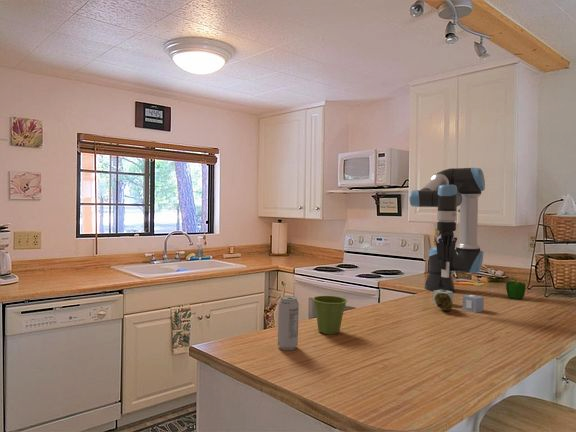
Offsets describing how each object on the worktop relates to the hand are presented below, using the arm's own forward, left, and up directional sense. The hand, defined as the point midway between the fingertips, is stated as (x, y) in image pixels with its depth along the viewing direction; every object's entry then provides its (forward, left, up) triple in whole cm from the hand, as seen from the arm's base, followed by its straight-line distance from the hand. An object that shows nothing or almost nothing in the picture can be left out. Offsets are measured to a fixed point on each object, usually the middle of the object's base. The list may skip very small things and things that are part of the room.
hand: (445, 277), depth 184 cm
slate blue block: (+6, +12, -14) cm, 20 cm away
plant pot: (-2, -63, -15) cm, 65 cm away
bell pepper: (+3, +55, -15) cm, 57 cm away
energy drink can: (+4, -85, -15) cm, 87 cm away
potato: (0, 0, -15) cm, 15 cm away
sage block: (-8, +11, -14) cm, 20 cm away
